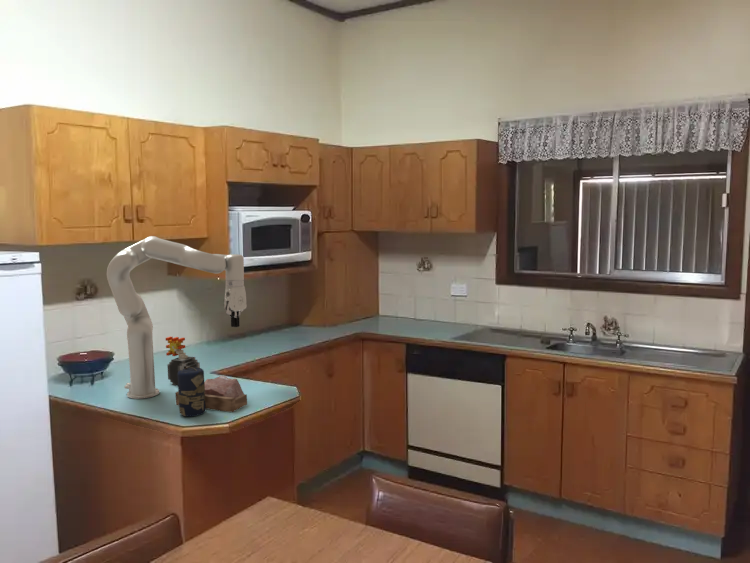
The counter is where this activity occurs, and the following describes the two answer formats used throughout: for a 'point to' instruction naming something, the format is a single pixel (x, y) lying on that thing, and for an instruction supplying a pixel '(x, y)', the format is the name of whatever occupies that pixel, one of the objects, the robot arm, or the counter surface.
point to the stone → (223, 387)
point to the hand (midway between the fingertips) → (235, 326)
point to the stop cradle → (222, 402)
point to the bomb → (178, 359)
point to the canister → (191, 391)
